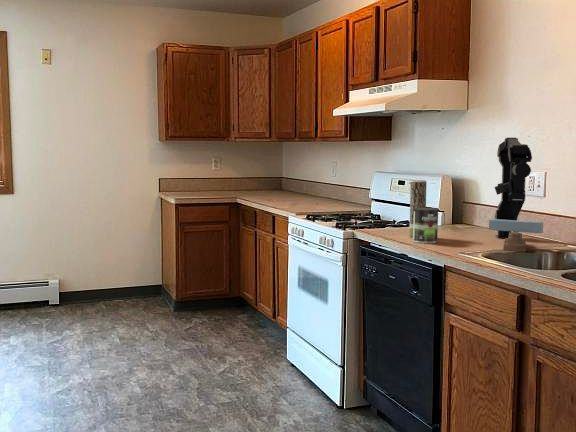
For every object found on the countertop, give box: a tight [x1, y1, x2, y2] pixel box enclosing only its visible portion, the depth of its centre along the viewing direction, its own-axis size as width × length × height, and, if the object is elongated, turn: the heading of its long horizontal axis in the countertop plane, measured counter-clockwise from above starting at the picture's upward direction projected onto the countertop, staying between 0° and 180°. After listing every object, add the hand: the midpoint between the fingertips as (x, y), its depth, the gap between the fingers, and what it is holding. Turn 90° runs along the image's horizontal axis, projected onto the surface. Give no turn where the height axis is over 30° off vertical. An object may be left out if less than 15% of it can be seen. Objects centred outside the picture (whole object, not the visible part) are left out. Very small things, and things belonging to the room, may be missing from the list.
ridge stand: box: [503, 231, 527, 252], centre depth 252 cm, size 18×8×6 cm, turn 160°
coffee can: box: [412, 206, 439, 244], centre depth 266 cm, size 10×10×14 cm
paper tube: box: [409, 179, 427, 238], centre depth 277 cm, size 7×7×25 cm
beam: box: [488, 218, 544, 234], centre depth 252 cm, size 4×20×4 cm, turn 59°
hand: (516, 215), depth 251 cm, fingers open, 9 cm apart
